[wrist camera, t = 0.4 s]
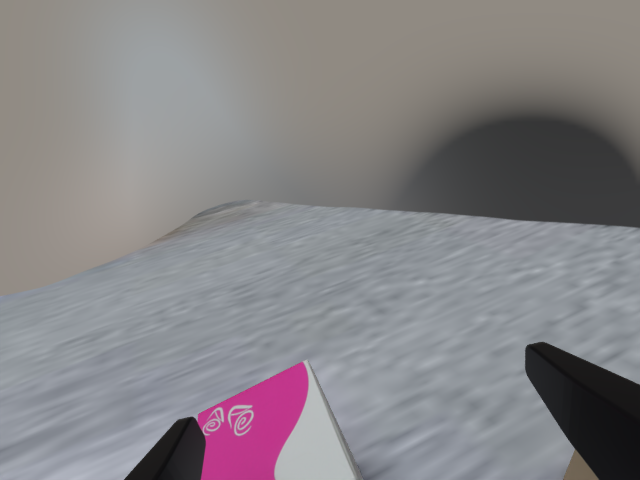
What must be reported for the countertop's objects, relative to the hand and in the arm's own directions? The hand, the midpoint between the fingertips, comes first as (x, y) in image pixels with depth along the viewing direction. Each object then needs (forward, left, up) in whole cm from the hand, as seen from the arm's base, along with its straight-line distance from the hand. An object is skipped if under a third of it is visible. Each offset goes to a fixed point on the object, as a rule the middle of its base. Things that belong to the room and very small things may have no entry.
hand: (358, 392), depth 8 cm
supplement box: (+2, +4, -16) cm, 17 cm away
